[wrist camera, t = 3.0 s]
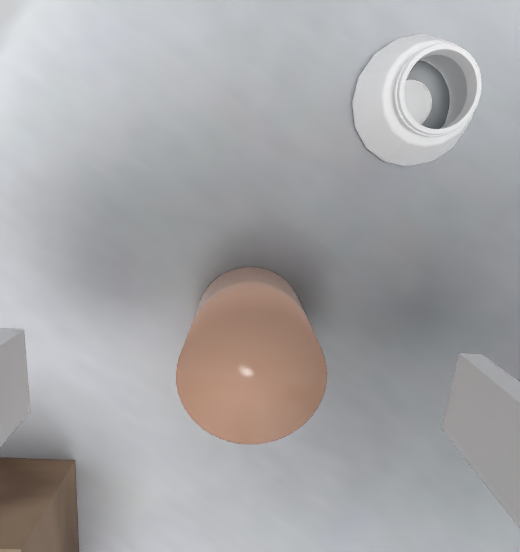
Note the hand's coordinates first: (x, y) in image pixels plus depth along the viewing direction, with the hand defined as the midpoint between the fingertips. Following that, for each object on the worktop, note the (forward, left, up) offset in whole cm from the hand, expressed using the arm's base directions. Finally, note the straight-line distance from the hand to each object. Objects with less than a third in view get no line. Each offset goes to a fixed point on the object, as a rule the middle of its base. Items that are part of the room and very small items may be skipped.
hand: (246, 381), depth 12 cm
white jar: (-6, -10, -7) cm, 14 cm away
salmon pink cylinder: (0, 0, -7) cm, 7 cm away
